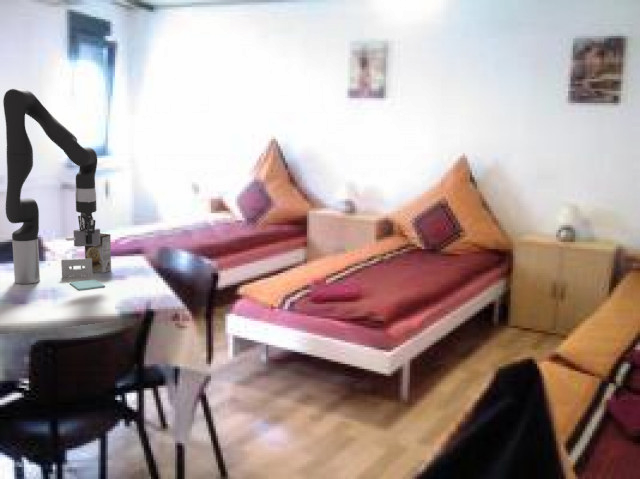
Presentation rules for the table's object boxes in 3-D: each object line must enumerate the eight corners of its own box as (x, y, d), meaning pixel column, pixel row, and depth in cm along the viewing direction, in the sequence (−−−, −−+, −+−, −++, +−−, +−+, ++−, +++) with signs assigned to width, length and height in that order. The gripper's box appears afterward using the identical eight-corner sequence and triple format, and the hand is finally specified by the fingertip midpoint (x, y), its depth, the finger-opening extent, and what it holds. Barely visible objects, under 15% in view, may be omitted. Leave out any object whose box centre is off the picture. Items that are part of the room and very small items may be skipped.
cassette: (61, 278, 269) (61, 260, 268) (62, 277, 271) (61, 259, 270) (92, 277, 273) (92, 258, 272) (92, 276, 275) (92, 258, 274)
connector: (65, 245, 254) (64, 230, 252) (98, 242, 261) (97, 228, 260) (68, 247, 250) (67, 232, 249) (101, 244, 258) (101, 229, 257)
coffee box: (84, 271, 282) (83, 234, 280) (94, 268, 288) (93, 232, 286) (102, 273, 280) (101, 236, 277) (112, 270, 286) (110, 233, 283)
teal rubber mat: (69, 283, 261) (69, 282, 261) (94, 280, 267) (94, 279, 266) (78, 290, 251) (78, 288, 251) (104, 287, 257) (104, 285, 257)
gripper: (70, 197, 257) (71, 241, 260) (82, 202, 246) (83, 247, 249) (89, 197, 261) (90, 239, 264) (101, 201, 250) (103, 245, 253)
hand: (87, 243), depth 256 cm, fingers closed on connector, 4 cm apart
